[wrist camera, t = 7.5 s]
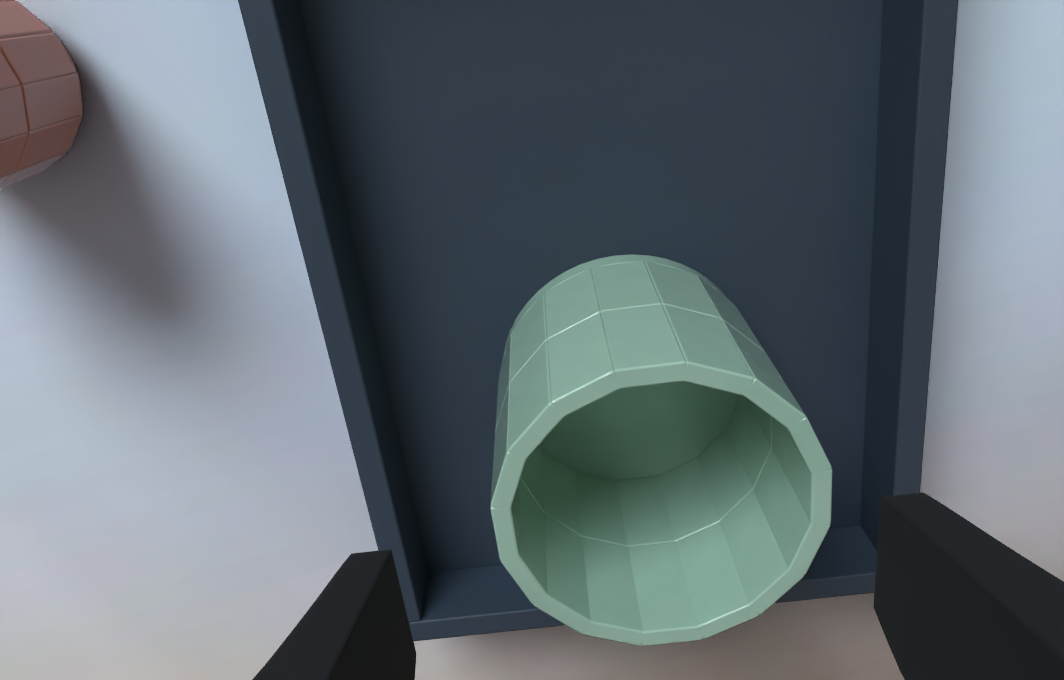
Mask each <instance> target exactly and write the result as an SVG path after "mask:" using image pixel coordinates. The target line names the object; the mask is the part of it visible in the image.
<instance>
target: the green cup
mask: <svg viewBox="0 0 1064 680" xmlns="http://www.w3.org/2000/svg"><path fill="white" fill-rule="evenodd" d="M831 504H832V468H831V464H830V462H829V460H828V458H827V456H826V454H825V452H824V450H823V448H822V446H821V444H820V442H819V440H818V438H817V436H816V434H815V432H814V430H813V428H812V426H811V424H810V422H809V420H808V418H807V416H806V415H805V413H804V412H803V410H802V409H801V407H800V405H799V404H798V402H797V401H796V399H795V398H794V396H793V394H792V393H791V391H790V390H789V388H788V387H787V385H786V383H785V382H784V380H783V379H782V377H781V376H780V374H779V372H778V371H777V369H776V368H775V366H774V365H773V363H772V362H771V360H770V358H769V357H768V355H767V354H766V352H765V351H764V349H763V347H762V346H761V344H760V343H759V341H758V340H757V338H756V336H755V335H754V333H753V332H752V330H751V329H750V327H749V326H748V324H747V322H746V321H745V319H744V318H743V316H742V315H741V313H740V311H739V310H738V308H737V307H736V306H735V304H734V303H733V302H732V301H730V300H729V299H728V297H727V296H726V295H725V294H724V293H723V291H722V290H721V289H719V288H718V287H717V286H716V285H715V284H714V283H713V282H712V281H711V280H709V279H708V278H706V277H705V276H703V275H702V274H700V273H699V272H697V271H695V270H693V269H691V268H689V267H687V266H685V265H683V264H681V263H678V262H675V261H672V260H668V259H665V258H660V257H655V256H649V255H633V254H631V255H615V256H610V257H604V258H599V259H595V260H592V261H589V262H586V263H583V264H580V265H578V266H576V267H574V268H572V269H569V270H567V271H565V272H564V273H562V274H560V275H559V276H557V277H556V278H554V279H552V280H551V281H550V282H548V283H547V284H546V285H545V286H544V287H542V288H541V289H540V290H539V291H538V292H537V293H536V294H535V295H534V296H533V297H532V298H531V299H530V300H529V301H528V302H527V303H526V305H525V306H524V308H523V309H522V310H521V312H520V313H519V315H518V316H517V318H516V320H515V322H514V324H513V326H512V327H511V329H510V332H509V335H508V338H507V340H506V343H505V347H504V352H503V357H502V366H501V369H500V373H499V379H498V395H497V411H496V427H495V442H494V458H493V474H492V490H491V506H490V509H491V515H492V520H493V526H494V531H495V537H496V542H497V548H498V553H499V558H500V560H501V563H502V564H503V565H504V567H505V568H506V569H507V571H508V572H509V573H510V575H511V576H512V578H513V579H514V580H515V582H516V583H517V584H518V586H519V587H520V588H521V590H522V591H523V592H524V594H525V595H526V596H527V598H528V599H529V601H530V602H531V603H532V604H533V605H534V606H535V607H537V608H539V609H540V610H542V611H544V612H545V613H547V614H549V615H550V616H552V617H554V618H555V619H557V620H559V621H560V622H562V623H564V624H565V625H567V626H569V627H570V628H572V629H574V630H576V631H577V632H579V633H581V634H582V633H583V634H584V635H588V636H593V637H598V638H603V639H608V640H613V641H617V642H622V643H627V644H632V645H637V646H641V645H642V646H649V645H658V644H668V643H677V642H687V641H697V640H702V638H703V639H706V638H708V637H711V636H713V635H715V634H718V633H720V632H722V631H725V630H727V629H730V628H732V627H734V626H737V625H739V624H741V623H744V622H746V621H748V620H751V619H753V618H755V617H758V616H759V615H761V614H762V613H763V612H765V611H766V610H767V609H768V608H769V607H770V606H771V605H772V604H774V603H775V602H776V601H777V600H778V599H779V598H780V597H782V596H783V595H784V594H785V593H786V592H787V591H788V590H789V589H791V588H792V587H793V586H794V585H795V584H796V583H797V582H799V581H800V580H801V579H802V578H803V577H804V575H805V574H806V573H807V571H808V569H809V567H810V565H811V563H812V561H813V559H814V557H815V555H816V553H817V551H818V549H819V547H820V545H821V543H822V541H823V539H824V537H825V535H826V533H827V531H828V529H829V527H830V524H831Z"/></svg>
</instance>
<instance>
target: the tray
mask: <svg viewBox="0 0 1064 680" xmlns="http://www.w3.org/2000/svg"><path fill="white" fill-rule="evenodd" d="M238 2H239V6H240V10H241V13H242V17H243V21H244V25H245V29H246V33H247V37H248V41H249V45H250V49H251V53H252V57H253V61H254V64H255V68H256V72H257V76H258V80H259V84H260V88H261V92H262V96H263V100H264V104H265V108H266V111H267V115H268V119H269V123H270V127H271V131H272V135H273V139H274V143H275V147H276V151H277V155H278V159H279V162H280V166H281V170H282V174H283V178H284V182H285V186H286V190H287V194H288V198H289V202H290V206H291V209H292V213H293V217H294V221H295V225H296V229H297V233H298V237H299V241H300V245H301V249H302V253H303V257H304V260H305V264H306V268H307V272H308V276H309V280H310V284H311V288H312V292H313V296H314V300H315V304H316V308H317V311H318V315H319V319H320V323H321V327H322V331H323V335H324V339H325V343H326V347H327V351H328V355H329V358H330V362H331V366H332V370H333V374H334V378H335V382H336V386H337V390H338V394H339V398H340V402H341V406H342V409H343V413H344V417H345V421H346V425H347V429H348V433H349V437H350V441H351V445H352V449H353V453H354V456H355V460H356V464H357V468H358V472H359V476H360V480H361V484H362V488H363V492H364V496H365V500H366V504H367V507H368V511H369V515H370V519H371V523H372V527H373V531H374V535H375V539H376V543H377V547H378V551H382V550H392V554H393V558H394V562H395V566H396V571H397V575H398V579H399V583H400V588H401V592H402V596H403V600H404V604H405V609H406V613H407V617H408V621H409V626H410V630H411V634H412V638H413V641H420V640H430V639H439V638H449V637H458V636H468V635H477V634H486V633H496V632H505V631H515V630H524V629H534V628H543V627H553V626H562V625H565V624H564V623H562V622H560V621H559V620H557V619H555V618H554V617H552V616H550V615H549V614H547V613H545V612H544V611H542V610H540V609H539V608H537V607H535V606H534V605H533V604H532V603H531V602H530V601H529V599H528V598H527V596H526V595H525V594H524V592H523V591H522V590H521V588H520V587H519V586H518V584H517V583H516V582H515V580H514V579H513V578H512V576H511V575H510V573H509V572H508V571H507V569H506V568H505V567H504V565H503V564H502V563H501V560H500V558H499V553H498V548H497V542H496V537H495V531H494V526H493V520H492V515H491V509H490V506H491V490H492V474H493V458H494V442H495V427H496V411H497V395H498V379H499V373H500V369H501V366H502V357H503V352H504V347H505V343H506V340H507V338H508V335H509V332H510V329H511V327H512V326H513V324H514V322H515V320H516V318H517V316H518V315H519V313H520V312H521V310H522V309H523V308H524V306H525V305H526V303H527V302H528V301H529V300H530V299H531V298H532V297H533V296H534V295H535V294H536V293H537V292H538V291H539V290H540V289H541V288H542V287H544V286H545V285H546V284H547V283H548V282H550V281H551V280H552V279H554V278H556V277H557V276H559V275H560V274H562V273H564V272H565V271H567V270H569V269H572V268H574V267H576V266H578V265H580V264H583V263H586V262H589V261H592V260H595V259H599V258H604V257H610V256H615V255H631V254H633V255H649V256H655V257H660V258H665V259H668V260H672V261H675V262H678V263H681V264H683V265H685V266H687V267H689V268H691V269H693V270H695V271H697V272H699V273H700V274H702V275H703V276H705V277H706V278H708V279H709V280H711V281H712V282H713V283H714V284H715V285H716V286H717V287H718V288H719V289H721V290H722V291H723V293H724V294H725V295H726V296H727V297H728V299H729V300H730V301H732V302H733V303H734V304H735V306H736V307H737V308H738V310H739V311H740V313H741V315H742V316H743V318H744V319H745V321H746V322H747V324H748V326H749V327H750V329H751V330H752V332H753V333H754V335H755V336H756V338H757V340H758V341H759V343H760V344H761V346H762V347H763V349H764V351H765V352H766V354H767V355H768V357H769V358H770V360H771V362H772V363H773V365H774V366H775V368H776V369H777V371H778V372H779V374H780V376H781V377H782V379H783V380H784V382H785V383H786V385H787V387H788V388H789V390H790V391H791V393H792V394H793V396H794V398H795V399H796V401H797V402H798V404H799V405H800V407H801V409H802V410H803V412H804V413H805V415H806V416H807V418H808V420H809V422H810V424H811V426H812V428H813V430H814V432H815V434H816V436H817V438H818V440H819V442H820V444H821V446H822V448H823V450H824V452H825V454H826V456H827V458H828V460H829V462H830V464H831V468H832V504H831V524H830V527H829V529H828V531H827V533H826V535H825V537H824V539H823V541H822V543H821V545H820V547H819V549H818V551H817V553H816V555H815V557H814V559H813V561H812V563H811V565H810V567H809V569H808V571H807V573H806V574H805V575H804V577H803V578H802V579H801V580H800V581H799V582H797V583H796V584H795V585H794V586H793V587H792V588H791V589H789V590H788V591H787V592H786V593H785V594H784V595H783V596H782V597H780V598H779V599H778V600H777V601H776V602H775V603H780V602H790V601H799V600H809V599H818V598H827V597H837V596H846V595H856V594H865V593H875V576H876V560H877V543H878V527H879V511H880V497H886V496H895V495H905V494H914V493H920V484H921V471H922V459H923V446H924V433H925V420H926V407H927V395H928V382H929V369H930V356H931V343H932V331H933V318H934V305H935V292H936V279H937V267H938V254H939V241H940V228H941V215H942V203H943V190H944V177H945V164H946V151H947V139H948V126H949V113H950V100H951V87H952V75H953V62H954V49H955V36H956V23H957V11H958V0H238Z"/></svg>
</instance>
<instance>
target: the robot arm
mask: <svg viewBox="0 0 1064 680" xmlns="http://www.w3.org/2000/svg"><path fill="white" fill-rule="evenodd" d="M874 609H875V612H876V614H877V617H878V619H879V622H880V624H881V627H882V629H883V631H884V634H885V636H886V639H887V641H888V644H889V646H890V648H891V651H892V653H893V655H894V658H895V660H896V662H897V665H898V667H899V669H900V671H901V673H902V675H903V677H904V679H905V680H1064V582H1063V581H1062V580H1060V579H1058V578H1057V577H1055V576H1053V575H1052V574H1050V573H1048V572H1047V571H1045V570H1044V569H1042V568H1040V567H1039V566H1037V565H1036V564H1034V563H1032V562H1031V561H1029V560H1028V559H1026V558H1024V557H1023V556H1021V555H1020V554H1018V553H1017V552H1015V551H1013V550H1012V549H1010V548H1009V547H1007V546H1006V545H1004V544H1003V543H1001V542H1000V541H998V540H996V539H995V538H993V537H992V536H990V535H989V534H987V533H986V532H984V531H983V530H981V529H980V528H978V527H976V526H975V525H973V524H972V523H970V522H969V521H967V520H966V519H964V518H963V517H961V516H960V515H958V514H957V513H955V512H953V511H952V510H950V509H949V508H947V507H946V506H944V505H943V504H941V503H939V502H938V501H936V500H935V499H933V498H931V497H930V496H928V495H926V494H925V493H914V494H905V495H895V496H886V497H880V511H879V527H878V543H877V560H876V576H875V593H874ZM415 664H416V651H415V647H414V642H413V638H412V634H411V630H410V626H409V621H408V617H407V613H406V609H405V604H404V600H403V596H402V592H401V588H400V583H399V579H398V575H397V571H396V566H395V562H394V558H393V554H392V550H382V551H373V552H363V553H354V554H351V555H350V556H349V557H348V558H347V560H346V561H345V562H344V563H343V565H342V566H341V567H340V569H339V570H338V571H337V572H336V574H335V575H334V576H333V578H332V579H331V581H330V582H329V583H328V585H327V586H326V587H325V589H324V590H323V591H322V593H321V594H320V595H319V597H318V598H317V599H316V601H315V602H314V603H313V605H312V606H311V607H310V609H309V610H308V611H307V613H306V614H305V615H304V617H303V618H302V619H301V620H300V622H299V623H298V624H297V626H296V627H295V628H294V629H293V631H292V632H291V633H290V634H289V636H288V637H287V638H286V639H285V641H284V642H283V643H282V645H281V646H280V647H279V648H278V650H277V651H276V652H275V653H274V655H273V656H272V657H271V658H270V660H269V661H268V662H267V663H266V664H265V666H264V667H263V668H262V669H261V670H260V672H259V673H258V674H257V675H256V676H255V677H254V678H253V680H414V679H415Z"/></svg>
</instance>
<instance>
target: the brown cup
mask: <svg viewBox="0 0 1064 680" xmlns="http://www.w3.org/2000/svg"><path fill="white" fill-rule="evenodd" d="M82 114H83V109H82V90H81V83H80V79H79V75H78V72H77V69H76V67H75V64H74V62H73V60H72V58H71V56H70V54H69V53H68V51H67V49H66V48H65V46H64V45H63V44H62V42H61V41H60V40H59V38H58V37H57V36H56V34H55V33H53V32H52V30H51V29H50V28H49V27H48V26H47V25H46V24H44V23H43V22H42V21H41V20H40V19H38V18H37V17H36V16H35V15H34V14H32V13H31V12H30V11H29V10H28V9H26V8H25V7H24V6H23V5H22V4H20V3H19V2H18V1H15V0H0V189H1V188H3V187H6V186H8V185H11V184H13V183H16V182H18V181H20V180H23V179H25V178H28V177H30V176H33V175H35V174H38V173H40V172H42V171H44V170H45V169H47V168H48V167H49V166H51V165H52V164H53V163H55V162H56V161H57V160H58V159H60V158H61V157H62V156H64V155H65V154H66V153H67V152H68V150H70V149H71V146H72V144H73V141H74V138H75V136H76V133H77V130H78V128H79V125H80V122H81V120H82Z"/></svg>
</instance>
